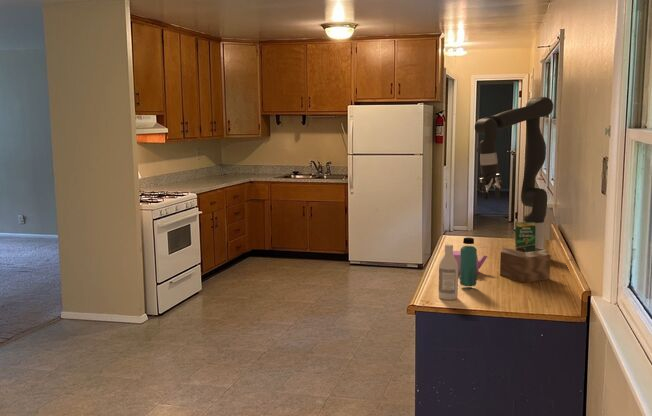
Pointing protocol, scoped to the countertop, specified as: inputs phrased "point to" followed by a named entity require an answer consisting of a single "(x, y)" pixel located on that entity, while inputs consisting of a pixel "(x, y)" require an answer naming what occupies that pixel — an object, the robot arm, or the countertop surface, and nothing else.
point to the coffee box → (525, 236)
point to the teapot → (480, 262)
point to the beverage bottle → (468, 263)
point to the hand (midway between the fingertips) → (491, 198)
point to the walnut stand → (525, 265)
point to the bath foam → (448, 275)
